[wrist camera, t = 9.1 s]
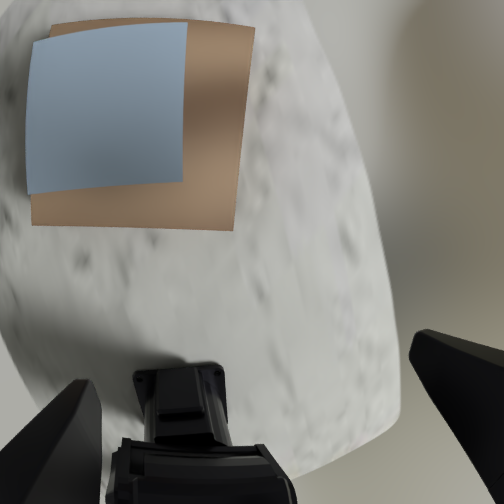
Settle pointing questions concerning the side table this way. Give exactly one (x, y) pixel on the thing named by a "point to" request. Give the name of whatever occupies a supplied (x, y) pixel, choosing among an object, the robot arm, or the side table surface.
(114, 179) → the blue cube
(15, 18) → the side table surface
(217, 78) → the walnut base
